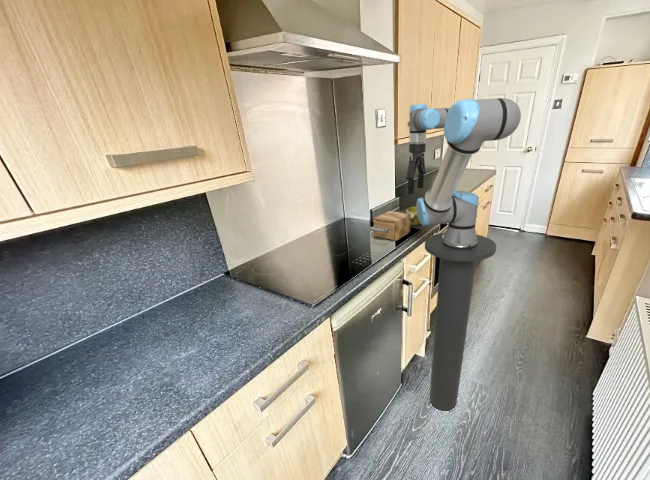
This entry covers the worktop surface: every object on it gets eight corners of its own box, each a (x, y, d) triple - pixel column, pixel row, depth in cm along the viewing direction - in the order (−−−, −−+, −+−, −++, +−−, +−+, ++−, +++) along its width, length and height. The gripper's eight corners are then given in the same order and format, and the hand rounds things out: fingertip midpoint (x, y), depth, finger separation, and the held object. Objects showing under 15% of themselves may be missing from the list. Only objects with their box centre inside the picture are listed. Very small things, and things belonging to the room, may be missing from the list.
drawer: (387, 244, 148) (387, 227, 144) (367, 240, 153) (366, 224, 150) (406, 231, 162) (407, 216, 158) (387, 228, 168) (387, 214, 164)
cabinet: (396, 240, 154) (396, 221, 149) (374, 236, 160) (374, 218, 155) (410, 232, 164) (410, 213, 160) (389, 228, 171) (388, 210, 166)
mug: (407, 216, 183) (411, 201, 176) (423, 223, 180) (428, 208, 173) (398, 226, 175) (402, 210, 168) (414, 233, 172) (419, 218, 165)
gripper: (418, 141, 155) (417, 185, 165) (399, 145, 136) (399, 195, 146) (433, 140, 152) (431, 186, 162) (416, 145, 133) (414, 197, 143)
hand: (415, 191), depth 154 cm, fingers open, 13 cm apart
